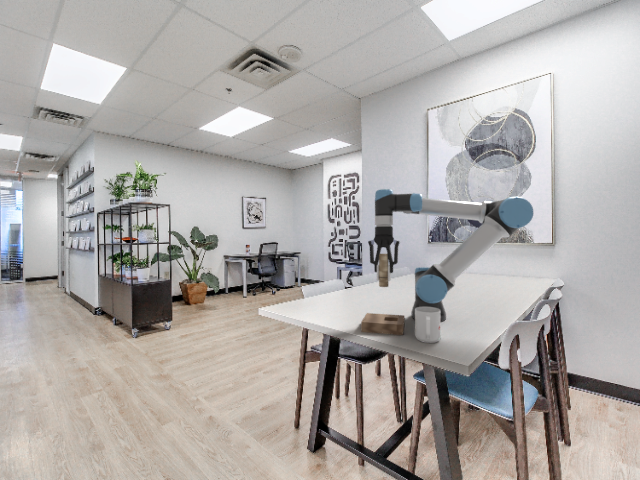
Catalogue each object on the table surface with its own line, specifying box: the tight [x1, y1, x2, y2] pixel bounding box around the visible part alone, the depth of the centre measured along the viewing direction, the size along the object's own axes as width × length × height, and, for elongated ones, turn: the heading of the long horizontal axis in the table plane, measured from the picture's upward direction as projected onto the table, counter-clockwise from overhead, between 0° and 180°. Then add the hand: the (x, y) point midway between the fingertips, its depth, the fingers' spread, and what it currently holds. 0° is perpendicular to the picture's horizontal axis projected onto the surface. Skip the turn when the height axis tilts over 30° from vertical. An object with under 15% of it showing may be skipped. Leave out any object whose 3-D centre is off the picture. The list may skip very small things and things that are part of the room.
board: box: [360, 312, 405, 336], centre depth 132 cm, size 16×14×4 cm
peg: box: [378, 253, 390, 288], centre depth 138 cm, size 4×4×14 cm
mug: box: [414, 307, 442, 344], centre depth 116 cm, size 12×9×11 cm
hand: (383, 280), depth 138 cm, fingers closed on peg, 4 cm apart
